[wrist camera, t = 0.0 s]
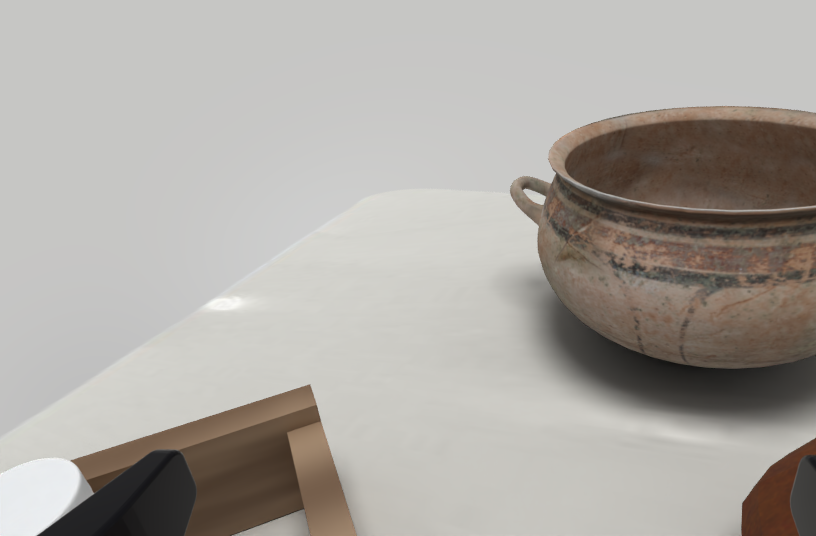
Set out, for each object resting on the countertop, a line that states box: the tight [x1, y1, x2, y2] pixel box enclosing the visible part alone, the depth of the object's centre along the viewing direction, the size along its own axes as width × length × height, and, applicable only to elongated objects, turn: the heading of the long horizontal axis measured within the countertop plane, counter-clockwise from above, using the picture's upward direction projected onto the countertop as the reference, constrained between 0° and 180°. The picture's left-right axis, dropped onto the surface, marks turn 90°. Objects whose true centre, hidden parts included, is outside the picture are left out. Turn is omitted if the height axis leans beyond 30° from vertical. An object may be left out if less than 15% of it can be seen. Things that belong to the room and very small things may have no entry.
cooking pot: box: [510, 106, 816, 369], centre depth 34 cm, size 25×19×12 cm
